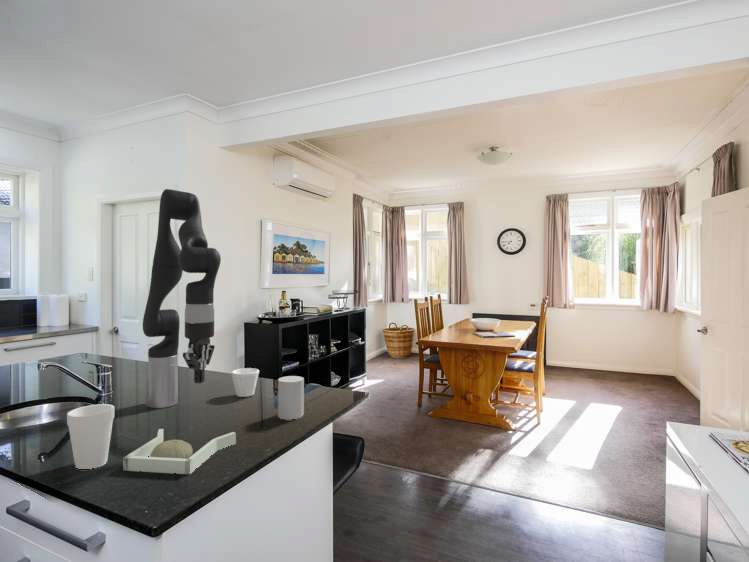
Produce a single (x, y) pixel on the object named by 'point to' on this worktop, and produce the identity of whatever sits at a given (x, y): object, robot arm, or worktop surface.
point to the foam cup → (90, 434)
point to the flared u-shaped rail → (173, 465)
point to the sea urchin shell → (173, 449)
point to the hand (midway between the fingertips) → (199, 382)
